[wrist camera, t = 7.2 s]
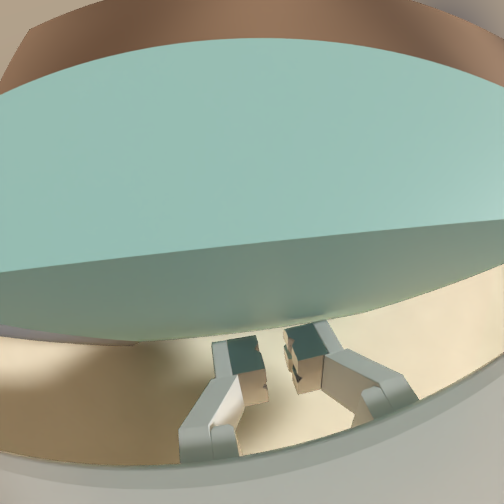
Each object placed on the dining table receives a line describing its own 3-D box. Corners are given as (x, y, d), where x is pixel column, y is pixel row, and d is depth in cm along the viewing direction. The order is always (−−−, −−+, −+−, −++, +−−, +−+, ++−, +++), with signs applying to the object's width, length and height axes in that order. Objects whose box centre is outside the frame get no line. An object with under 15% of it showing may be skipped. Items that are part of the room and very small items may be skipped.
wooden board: (147, 298, 16) (-33, 169, 3) (139, 221, 17) (29, 29, 4) (416, 244, 18) (571, 129, 5) (392, 181, 19) (506, 40, 6)
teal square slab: (109, 346, 14) (-149, 304, 1) (106, 302, 15) (-124, 174, 2) (363, 316, 16) (611, 221, 2) (355, 274, 16) (565, 115, 3)
